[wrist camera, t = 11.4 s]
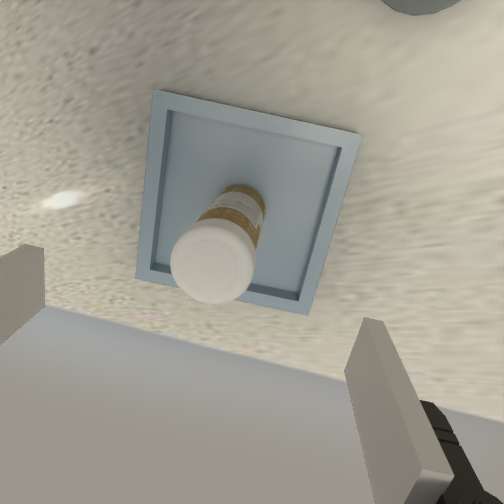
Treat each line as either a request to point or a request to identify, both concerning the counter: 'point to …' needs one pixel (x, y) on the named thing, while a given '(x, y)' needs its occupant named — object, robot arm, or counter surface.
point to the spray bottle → (419, 6)
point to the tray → (247, 173)
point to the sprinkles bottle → (220, 247)
